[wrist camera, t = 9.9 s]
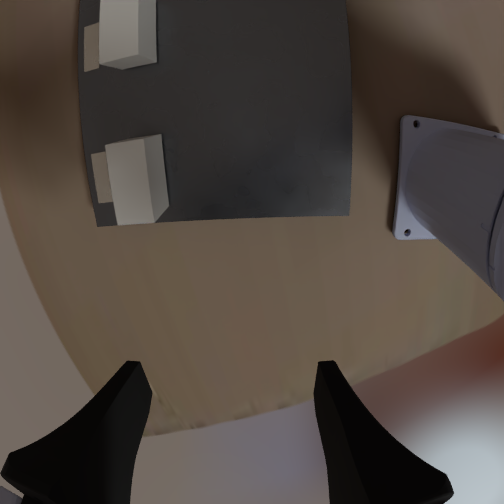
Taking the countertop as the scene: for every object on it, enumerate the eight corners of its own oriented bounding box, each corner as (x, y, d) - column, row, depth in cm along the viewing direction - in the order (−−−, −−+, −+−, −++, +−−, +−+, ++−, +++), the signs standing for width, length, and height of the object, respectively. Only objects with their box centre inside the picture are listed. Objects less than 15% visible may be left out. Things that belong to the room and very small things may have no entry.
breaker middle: (156, -1, 11) (139, -18, 9) (156, 62, 13) (138, 54, 11) (122, 7, 11) (100, -7, 9) (122, 69, 13) (99, 63, 11)
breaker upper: (161, 134, 15) (143, 138, 12) (169, 205, 16) (154, 222, 14) (126, 139, 15) (104, 145, 12) (136, 208, 17) (117, 225, 14)
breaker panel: (321, -95, 9) (326, -106, 7) (342, 207, 18) (349, 216, 17) (100, -68, 9) (91, -77, 8) (107, 218, 19) (96, 227, 17)
